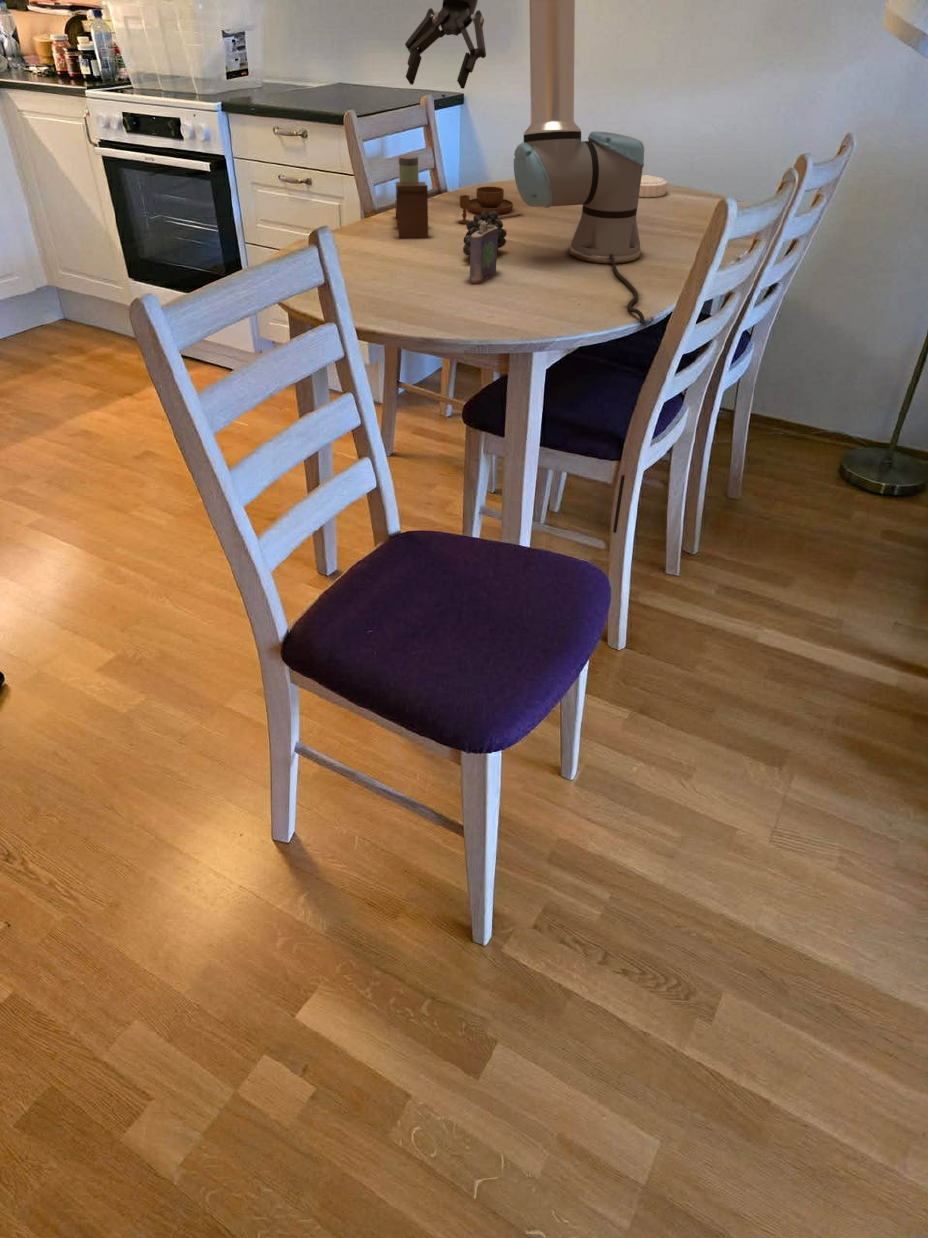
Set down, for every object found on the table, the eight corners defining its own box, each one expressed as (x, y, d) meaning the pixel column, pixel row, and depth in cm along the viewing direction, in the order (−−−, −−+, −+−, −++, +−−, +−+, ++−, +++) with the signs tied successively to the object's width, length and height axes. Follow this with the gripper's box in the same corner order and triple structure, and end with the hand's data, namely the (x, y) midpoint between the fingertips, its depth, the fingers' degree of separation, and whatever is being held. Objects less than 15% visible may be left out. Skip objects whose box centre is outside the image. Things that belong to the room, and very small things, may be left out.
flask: (478, 284, 167) (479, 226, 160) (465, 282, 168) (465, 224, 162) (499, 272, 173) (501, 216, 167) (486, 270, 175) (488, 214, 168)
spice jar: (419, 204, 202) (418, 158, 196) (400, 205, 201) (398, 158, 195) (418, 200, 205) (417, 154, 199) (399, 200, 205) (398, 154, 199)
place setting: (529, 214, 212) (530, 188, 208) (464, 225, 203) (464, 198, 199) (489, 200, 223) (489, 175, 219) (425, 209, 214) (425, 184, 211)
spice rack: (428, 237, 194) (427, 185, 187) (398, 238, 193) (397, 185, 186) (423, 217, 208) (422, 168, 201) (395, 217, 208) (394, 168, 201)
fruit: (475, 220, 171) (505, 203, 181) (441, 229, 175) (472, 211, 185) (487, 263, 175) (515, 244, 185) (453, 271, 179) (483, 252, 190)
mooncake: (655, 199, 226) (657, 184, 224) (614, 193, 231) (616, 179, 229) (672, 191, 234) (674, 177, 232) (632, 185, 239) (634, 171, 237)
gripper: (516, 6, 191) (488, 97, 192) (422, 3, 200) (395, 89, 201) (506, -20, 184) (477, 74, 185) (409, -22, 193) (381, 67, 194)
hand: (434, 82), depth 193 cm, fingers open, 13 cm apart
